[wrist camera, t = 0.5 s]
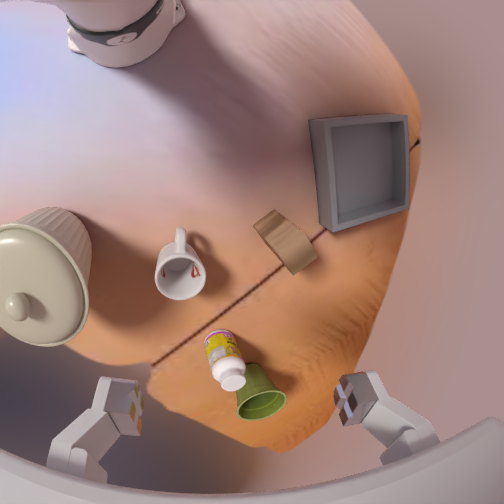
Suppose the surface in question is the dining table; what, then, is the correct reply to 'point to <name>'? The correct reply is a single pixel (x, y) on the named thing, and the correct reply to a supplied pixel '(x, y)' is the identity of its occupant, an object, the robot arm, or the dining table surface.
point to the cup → (179, 269)
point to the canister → (44, 277)
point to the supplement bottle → (225, 360)
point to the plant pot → (258, 395)
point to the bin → (360, 168)
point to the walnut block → (286, 241)
